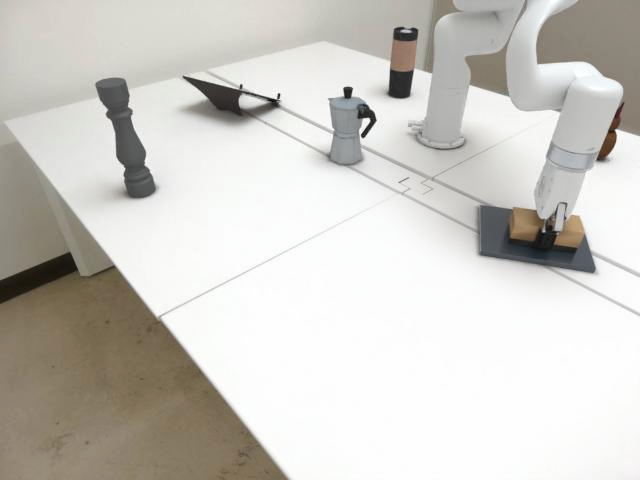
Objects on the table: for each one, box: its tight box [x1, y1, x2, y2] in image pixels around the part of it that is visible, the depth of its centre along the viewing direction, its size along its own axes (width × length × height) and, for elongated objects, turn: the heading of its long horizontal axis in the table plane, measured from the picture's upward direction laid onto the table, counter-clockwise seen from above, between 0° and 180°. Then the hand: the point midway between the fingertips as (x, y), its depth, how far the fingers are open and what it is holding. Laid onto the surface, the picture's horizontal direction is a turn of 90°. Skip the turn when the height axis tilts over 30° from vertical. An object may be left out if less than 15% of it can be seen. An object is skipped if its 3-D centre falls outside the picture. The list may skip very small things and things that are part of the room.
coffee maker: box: [327, 85, 378, 166], centre depth 111 cm, size 15×9×18 cm, turn 47°
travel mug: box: [388, 26, 419, 99], centre depth 144 cm, size 8×8×20 cm
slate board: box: [478, 204, 597, 273], centre depth 90 cm, size 20×16×1 cm
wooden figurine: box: [596, 101, 626, 160], centre depth 112 cm, size 7×6×15 cm
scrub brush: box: [507, 206, 586, 253], centre depth 87 cm, size 12×6×5 cm, turn 75°
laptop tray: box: [181, 75, 282, 117], centre depth 140 cm, size 23×23×9 cm
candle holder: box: [94, 77, 157, 199], centre depth 97 cm, size 6×6×25 cm
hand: (540, 237), depth 88 cm, fingers closed on scrub brush, 5 cm apart
